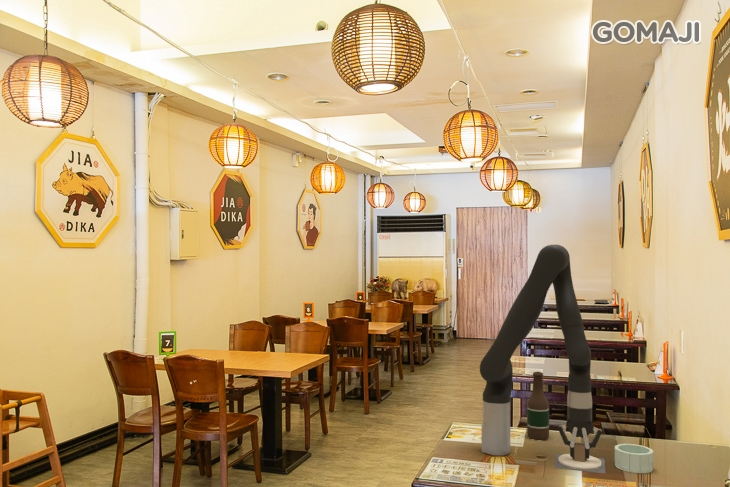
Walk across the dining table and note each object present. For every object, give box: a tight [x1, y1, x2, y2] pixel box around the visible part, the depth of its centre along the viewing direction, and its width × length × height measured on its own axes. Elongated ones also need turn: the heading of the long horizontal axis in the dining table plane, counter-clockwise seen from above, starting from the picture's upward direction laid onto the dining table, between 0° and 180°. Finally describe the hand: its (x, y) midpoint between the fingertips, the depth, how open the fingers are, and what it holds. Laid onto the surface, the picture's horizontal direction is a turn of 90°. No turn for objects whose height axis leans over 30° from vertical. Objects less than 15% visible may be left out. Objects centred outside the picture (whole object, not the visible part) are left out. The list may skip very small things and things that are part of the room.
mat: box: [554, 453, 606, 474], centre depth 201 cm, size 15×15×1 cm
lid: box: [559, 441, 601, 470], centre depth 201 cm, size 13×13×6 cm
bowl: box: [614, 443, 654, 474], centre depth 198 cm, size 11×11×6 cm
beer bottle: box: [526, 371, 550, 441], centre depth 231 cm, size 8×8×24 cm
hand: (579, 458), depth 201 cm, fingers closed on lid, 3 cm apart
